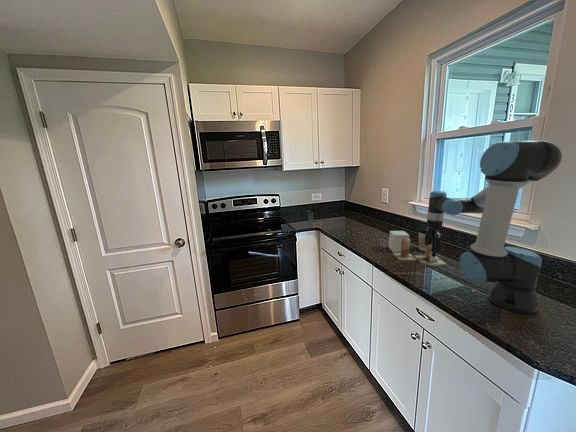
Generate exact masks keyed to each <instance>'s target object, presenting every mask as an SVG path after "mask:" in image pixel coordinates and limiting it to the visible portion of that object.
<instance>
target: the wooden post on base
mask: <svg viewBox="0 0 576 432" xmlns="http://www.w3.org/2000/svg"><path fill="white" fill-rule="evenodd" d="M410 245H411V238H410V237H409V238H402V245H401V252H392V254H393V255H394V257H395V258H397V259H398V261H417V259H416V258H415V257H414V256H413V255H412V254H411V253H410Z"/></svg>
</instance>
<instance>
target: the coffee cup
mask: <svg viewBox="0 0 576 432" xmlns="http://www.w3.org/2000/svg"><path fill="white" fill-rule="evenodd" d="M417 231H418V249H419V250H420V251H423V252H426V244H424V242H425V234H426V227H425V226H424V227H419V229H418V230H417Z"/></svg>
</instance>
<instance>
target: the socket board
mask: <svg viewBox="0 0 576 432" xmlns="http://www.w3.org/2000/svg"><path fill="white" fill-rule="evenodd" d="M413 257H414V258H415V259H416V261H417V262H419V263H420V264H421V266H423V267H424V266H427V267H428V266H429V267H447V263H446V262H444V261H443V260H442V259H440V257H438V256H437V255H436V258H435V262H427V261H425V259H426V258H425V255H421V254H420V255H419V254H418V255H414V256H413Z"/></svg>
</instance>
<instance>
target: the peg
mask: <svg viewBox="0 0 576 432" xmlns="http://www.w3.org/2000/svg"><path fill="white" fill-rule="evenodd" d="M430 250H432V244H427V250H426V251H425V253H426V259H424V260H425V261H427V262H430V261H429V259H430Z"/></svg>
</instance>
